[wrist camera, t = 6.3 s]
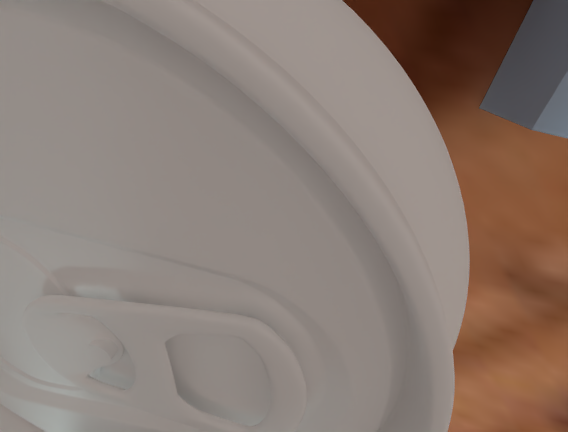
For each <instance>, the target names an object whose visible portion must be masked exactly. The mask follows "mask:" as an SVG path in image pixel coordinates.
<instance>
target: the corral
mask: <svg viewBox="0 0 568 432" xmlns="http://www.w3.org/2000/svg"><path fill="white" fill-rule="evenodd" d="M479 108H480V109H483V110H485V111H488V112H490V113H492V114H495V115H497V116H500V117H502V118H504V119H507V120H509V121H512V122H514V123H516V124H519V125H521V126H524V127H526V128H528V129H531V130H535V131H539V132H543V133H547V134H551V135H556V136H560V137H564V138H568V0H533V2H532V4H531V6H530V8H529V10H528V12H527V14H526V16H525V18H524V20H523V22H522V24H521V26H520V28H519V30H518V32H517V34H516V36H515V38H514V40H513V42H512V44H511V46H510V48H509V50H508V52H507V54H506V56H505V58H504V60H503V62H502V64H501V66H500V68H499V70H498V71H497V73H496V75H495V77H494V79H493V81H492V83H491V85H490V87H489V89H488V91H487V93H486V95H485V97H484V99H483V101H482V103H481V105H480V107H479Z"/></svg>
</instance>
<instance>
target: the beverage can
mask: <svg viewBox="0 0 568 432" xmlns="http://www.w3.org/2000/svg"><path fill="white" fill-rule="evenodd" d="M469 260H470V259H469V240H468V230H467V221H466V216H465V210H464V204H463V200H462V196H461V192H460V187H459V184H458V180H457V177H456V174H455V170H454V167H453V164H452V161H451V159H450V156H449V153H448V151H447V148H446V145H445V143H444V141H443V138H442V136H441V134H440V132H439V129H438V127H437V125H436V123H435V121H434V119H433V117H432V115H431V113H430V112H429V110H428V108H427V106H426V104H425V102H424V101H423V99H422V97H421V96H420V94H419V92H418V91H417V89H416V87H415V86H414V84H413V83H412V81H411V80H410V78H409V77H408V75H407V74H406V72H405V71H404V69H403V68H402V67H401V65H400V64H399V63H398V61H397V60H396V59H395V57H394V56H393V55H392V53H391V52H390V51H389V50H388V48H387V47H386V46H385V45H384V44H383V42H382V41H381V40H380V39H379V38H378V37H377V35H376V34H375V33H374V32H373V31H372V30H371V29H370V27H369V26H368V25H367V24H366V23H365V22H364V21H363V20H362V19H361V18H360V17H359V16H358V15H357V14H356V13H355V12H354V11H353V10H352V9H351V8H350V7H349V6H348V5H347V4H346V3H345V2H343V1H342V0H0V432H447V431H448V427H449V424H450V419H451V414H452V408H453V400H454V376H455V374H454V361H453V352H452V351H453V348H454V346H455V343H456V340H457V337H458V334H459V331H460V327H461V324H462V319H463V315H464V311H465V306H466V300H467V292H468V282H469Z"/></svg>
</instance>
